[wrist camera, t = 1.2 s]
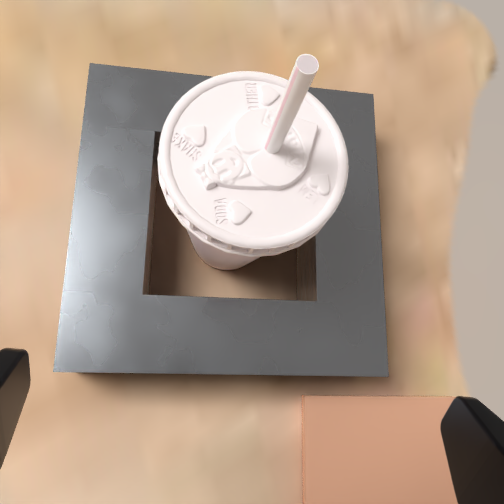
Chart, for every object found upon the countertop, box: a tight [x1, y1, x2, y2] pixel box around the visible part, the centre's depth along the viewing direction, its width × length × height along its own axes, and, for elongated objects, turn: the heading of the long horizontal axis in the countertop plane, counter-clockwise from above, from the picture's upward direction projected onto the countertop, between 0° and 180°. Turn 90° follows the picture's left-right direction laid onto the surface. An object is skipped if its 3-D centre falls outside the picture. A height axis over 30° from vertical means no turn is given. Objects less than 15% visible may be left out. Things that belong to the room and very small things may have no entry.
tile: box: [302, 395, 458, 504], centre depth 22 cm, size 8×8×1 cm
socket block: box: [53, 63, 389, 377], centre depth 22 cm, size 14×14×4 cm
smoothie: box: [157, 54, 348, 270], centre depth 17 cm, size 6×6×14 cm
